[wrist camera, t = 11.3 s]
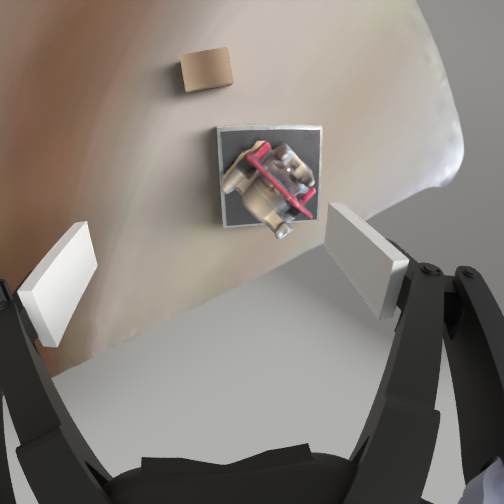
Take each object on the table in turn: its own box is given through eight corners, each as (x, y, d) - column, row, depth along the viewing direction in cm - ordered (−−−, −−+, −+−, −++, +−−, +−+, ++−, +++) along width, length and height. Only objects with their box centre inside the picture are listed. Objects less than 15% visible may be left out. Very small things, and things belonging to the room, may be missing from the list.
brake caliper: (341, 174, 38) (328, 244, 31) (284, 204, 46) (261, 267, 39) (282, 112, 33) (250, 171, 26) (229, 155, 41) (192, 214, 35)
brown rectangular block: (188, 93, 36) (185, 91, 33) (182, 60, 34) (179, 55, 30) (231, 85, 36) (233, 82, 33) (225, 52, 34) (227, 47, 30)
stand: (222, 219, 45) (223, 229, 42) (216, 126, 39) (217, 128, 35) (311, 212, 47) (319, 222, 43) (314, 124, 40) (323, 126, 37)
